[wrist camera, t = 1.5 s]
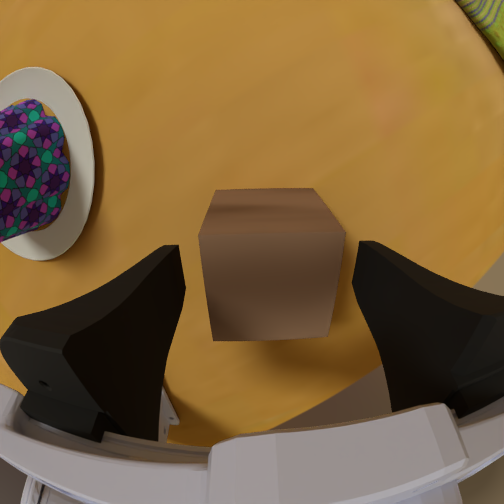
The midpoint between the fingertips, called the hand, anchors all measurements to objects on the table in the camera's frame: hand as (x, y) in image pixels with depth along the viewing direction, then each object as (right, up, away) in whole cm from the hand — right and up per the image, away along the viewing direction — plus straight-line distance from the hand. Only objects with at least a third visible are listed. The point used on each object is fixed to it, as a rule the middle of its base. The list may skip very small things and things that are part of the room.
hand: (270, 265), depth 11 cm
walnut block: (0, +1, +3) cm, 3 cm away
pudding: (-14, +6, +1) cm, 15 cm away
